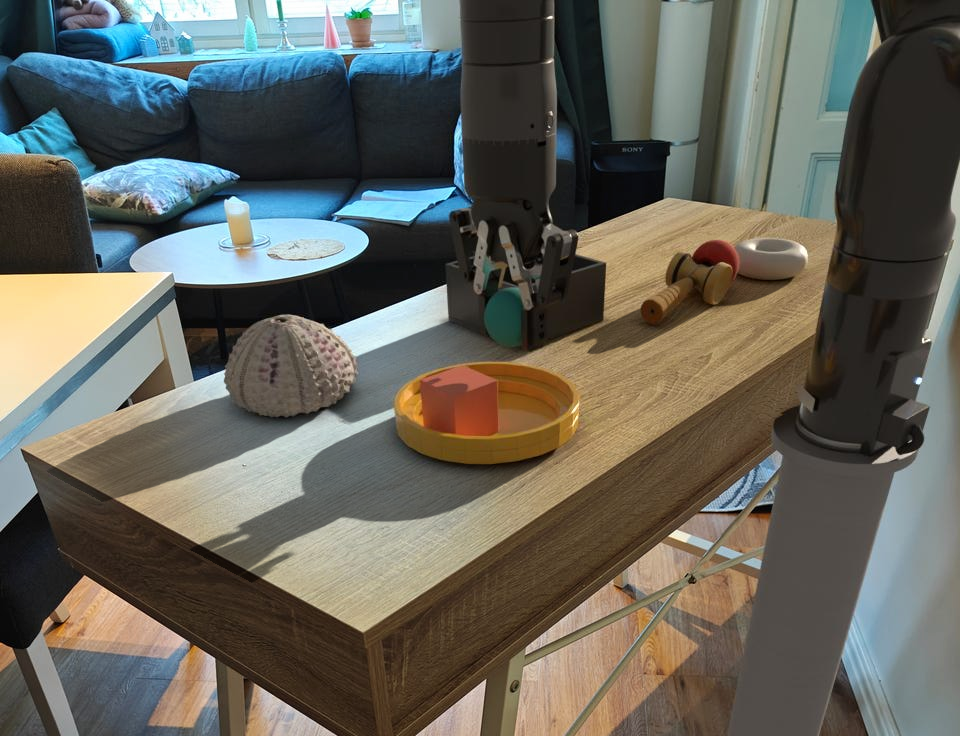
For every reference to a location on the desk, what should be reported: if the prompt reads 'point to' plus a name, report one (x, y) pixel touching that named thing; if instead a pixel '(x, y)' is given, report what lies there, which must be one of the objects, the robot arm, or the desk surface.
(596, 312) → the bin
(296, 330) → the sea urchin shell
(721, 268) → the kendama
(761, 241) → the donut
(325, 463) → the desk surface
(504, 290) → the toy ball
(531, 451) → the bowl
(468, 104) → the robot arm
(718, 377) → the desk surface
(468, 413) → the toy block
